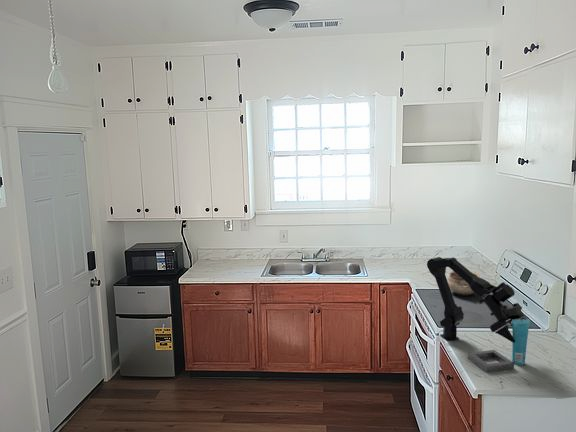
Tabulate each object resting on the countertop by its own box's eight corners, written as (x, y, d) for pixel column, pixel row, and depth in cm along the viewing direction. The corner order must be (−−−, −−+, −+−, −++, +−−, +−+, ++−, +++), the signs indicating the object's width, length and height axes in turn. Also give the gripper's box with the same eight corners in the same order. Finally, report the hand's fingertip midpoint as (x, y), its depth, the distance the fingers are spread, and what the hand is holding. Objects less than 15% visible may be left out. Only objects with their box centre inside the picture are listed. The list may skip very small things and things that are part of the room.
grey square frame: (467, 358, 209) (467, 353, 209) (493, 355, 212) (494, 349, 212) (486, 372, 197) (486, 366, 196) (513, 368, 200) (514, 363, 199)
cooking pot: (484, 301, 280) (485, 281, 278) (450, 300, 283) (451, 280, 281) (474, 288, 304) (475, 269, 302) (443, 287, 307) (444, 268, 305)
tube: (523, 359, 208) (526, 317, 205) (529, 364, 203) (533, 321, 200) (506, 360, 207) (509, 317, 204) (512, 365, 203) (516, 322, 199)
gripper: (498, 302, 199) (523, 336, 193) (520, 293, 211) (545, 325, 204) (479, 315, 207) (503, 348, 200) (502, 306, 218) (525, 336, 211)
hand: (519, 339), depth 204 cm, fingers open, 9 cm apart
